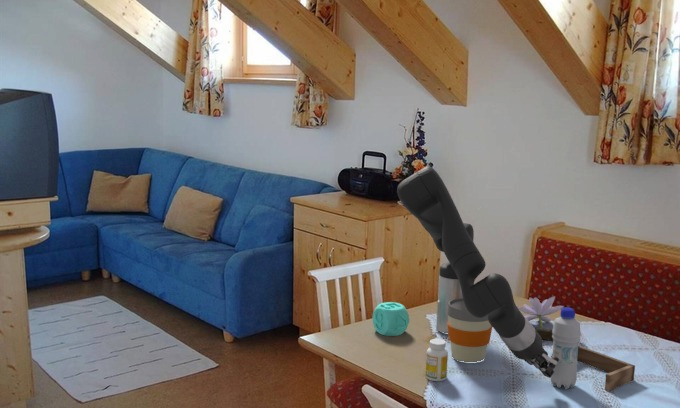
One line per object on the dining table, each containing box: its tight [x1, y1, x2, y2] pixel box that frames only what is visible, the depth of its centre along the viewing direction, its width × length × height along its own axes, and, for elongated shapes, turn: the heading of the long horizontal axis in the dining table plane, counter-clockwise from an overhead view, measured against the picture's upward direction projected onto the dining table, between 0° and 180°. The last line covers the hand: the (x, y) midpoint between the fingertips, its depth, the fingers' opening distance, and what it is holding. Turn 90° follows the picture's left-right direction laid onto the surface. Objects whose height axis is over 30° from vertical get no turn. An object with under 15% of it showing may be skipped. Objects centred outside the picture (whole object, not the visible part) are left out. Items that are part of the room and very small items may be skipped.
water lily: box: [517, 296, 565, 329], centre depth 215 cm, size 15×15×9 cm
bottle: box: [549, 306, 582, 390], centre depth 172 cm, size 7×7×20 cm
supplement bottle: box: [424, 338, 449, 382], centre depth 176 cm, size 5×5×10 cm
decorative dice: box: [371, 301, 410, 337], centre depth 209 cm, size 8×8×8 cm
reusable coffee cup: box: [447, 298, 493, 362], centre depth 190 cm, size 13×13×15 cm
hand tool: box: [532, 325, 580, 345], centre depth 204 cm, size 19×4×5 cm, turn 80°
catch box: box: [577, 344, 636, 392], centre depth 180 cm, size 11×17×4 cm, turn 36°
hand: (549, 373), depth 170 cm, fingers closed
